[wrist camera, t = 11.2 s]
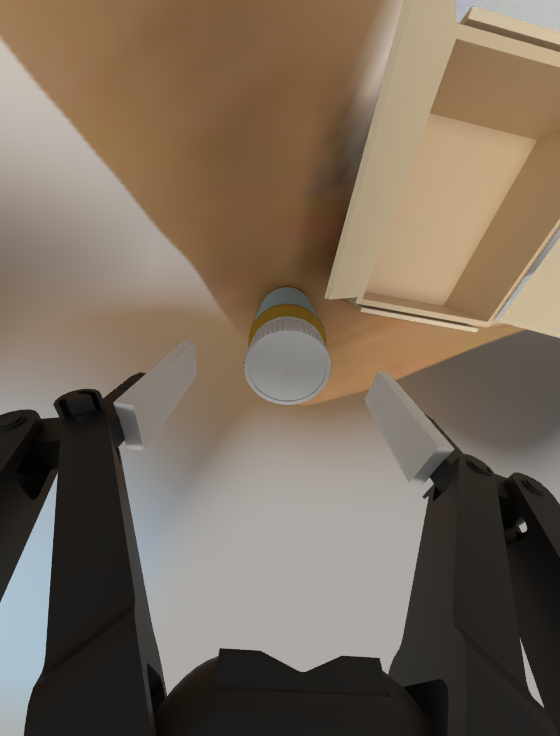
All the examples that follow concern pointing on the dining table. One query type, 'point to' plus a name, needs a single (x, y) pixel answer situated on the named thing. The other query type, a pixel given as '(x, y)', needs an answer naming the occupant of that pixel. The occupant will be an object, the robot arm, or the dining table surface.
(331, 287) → the front flap
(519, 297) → the back flap
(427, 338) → the dining table surface
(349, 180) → the dining table surface
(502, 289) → the carton
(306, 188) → the dining table surface
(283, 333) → the bottle
